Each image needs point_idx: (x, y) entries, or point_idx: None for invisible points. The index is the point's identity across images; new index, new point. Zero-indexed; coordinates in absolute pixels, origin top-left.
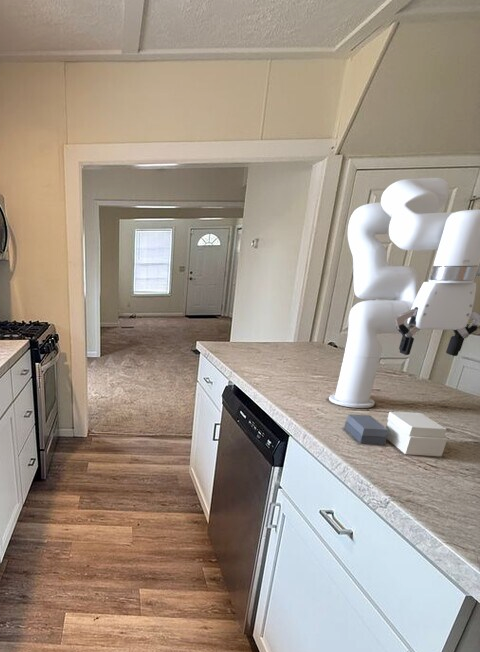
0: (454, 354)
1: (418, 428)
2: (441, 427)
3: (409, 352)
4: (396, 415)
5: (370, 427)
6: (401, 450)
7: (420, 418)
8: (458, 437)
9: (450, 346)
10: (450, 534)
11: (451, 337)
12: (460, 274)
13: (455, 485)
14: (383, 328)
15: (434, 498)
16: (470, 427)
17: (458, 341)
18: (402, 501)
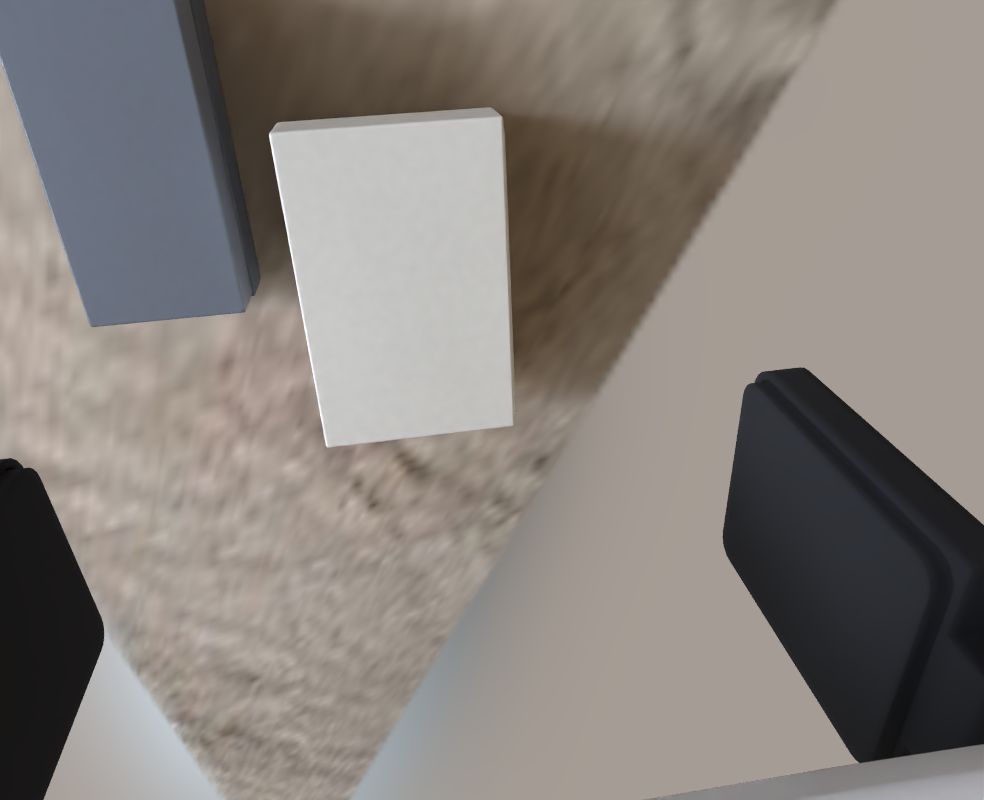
0: (735, 558)
1: (364, 441)
2: (496, 411)
3: (87, 664)
4: (296, 232)
5: (135, 299)
6: None
7: (444, 264)
8: (764, 12)
9: (797, 509)
10: None
11: (921, 575)
12: None
13: (425, 599)
14: None
15: (317, 695)
16: None
17: (843, 728)
18: (211, 738)
